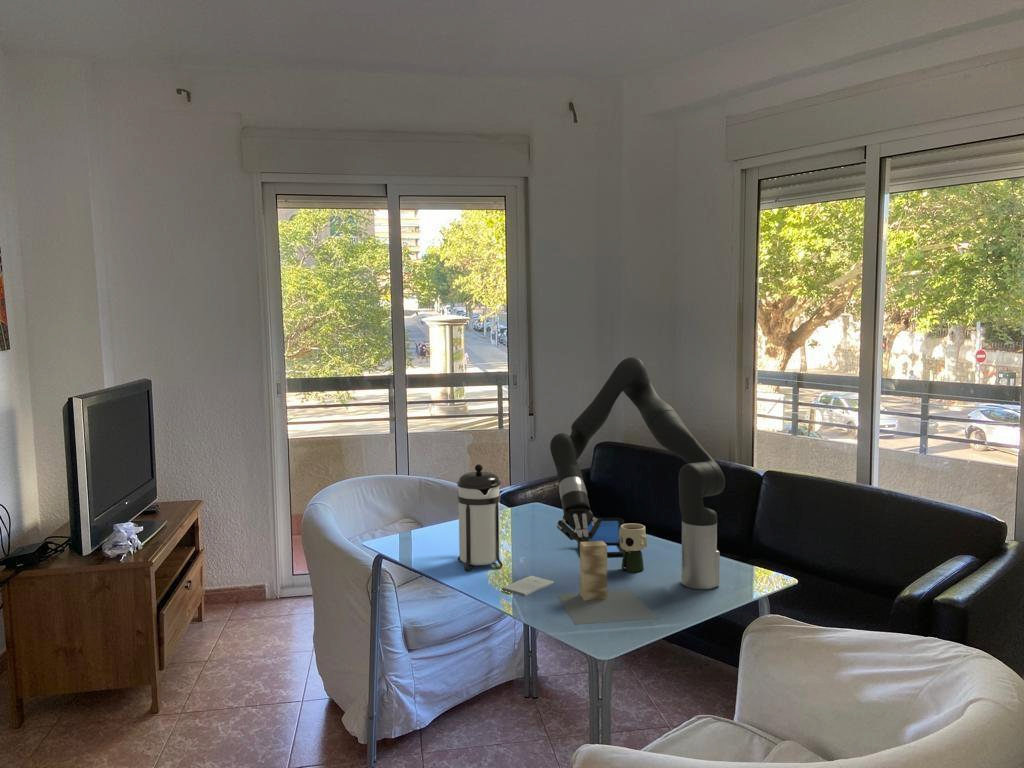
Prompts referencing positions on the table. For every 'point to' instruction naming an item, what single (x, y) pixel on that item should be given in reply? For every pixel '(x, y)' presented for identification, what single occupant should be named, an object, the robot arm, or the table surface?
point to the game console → (609, 535)
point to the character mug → (632, 546)
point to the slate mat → (605, 608)
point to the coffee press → (479, 518)
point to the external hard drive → (527, 585)
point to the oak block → (593, 570)
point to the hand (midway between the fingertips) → (585, 552)
